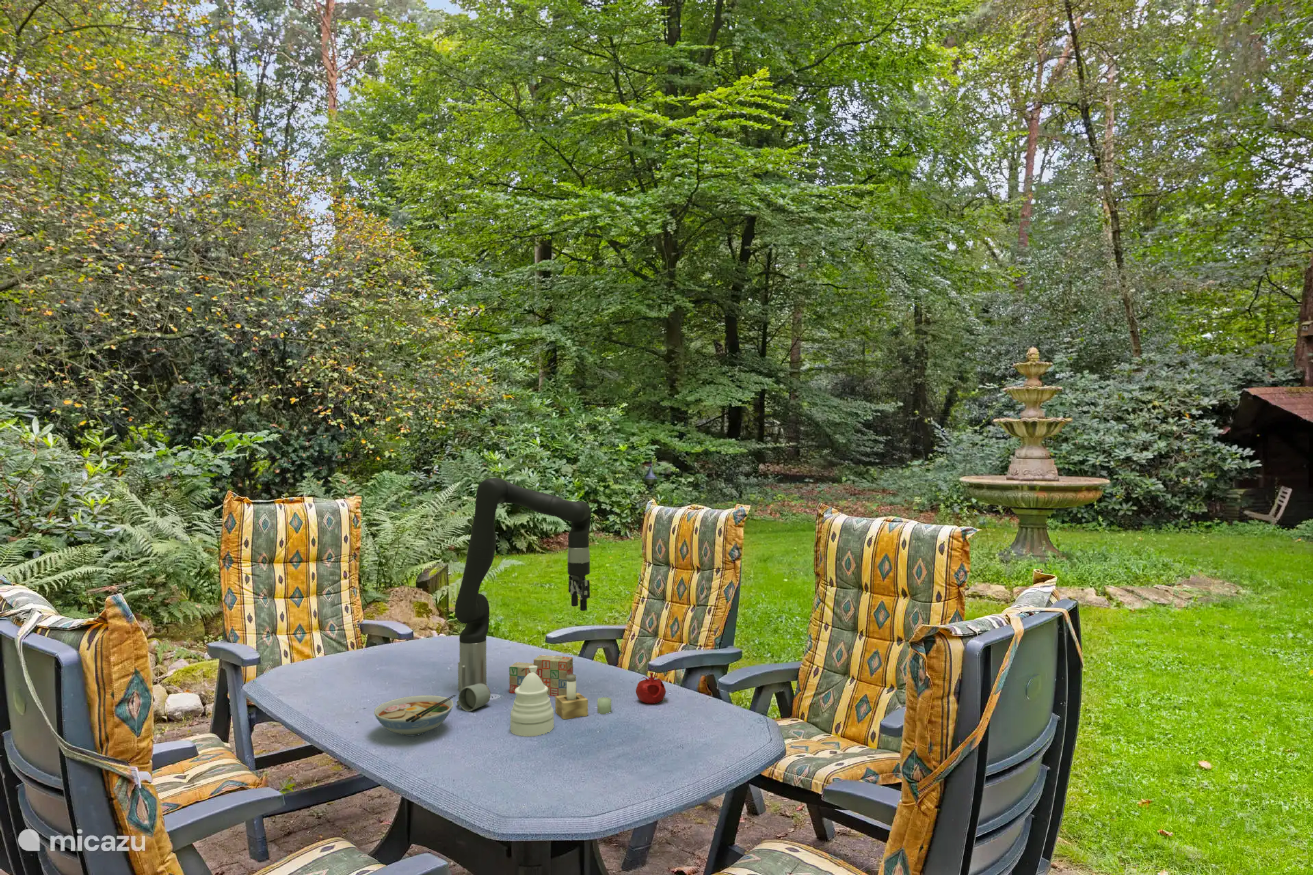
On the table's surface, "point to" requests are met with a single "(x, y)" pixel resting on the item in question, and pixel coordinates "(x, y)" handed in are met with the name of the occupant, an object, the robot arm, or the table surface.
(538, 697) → the honey pot
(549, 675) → the stack of blocks
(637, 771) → the table surface
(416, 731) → the ramen bowl
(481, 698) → the ceramic mug
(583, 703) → the bead block
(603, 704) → the bead
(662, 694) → the pomegranate
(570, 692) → the cream capped cylinder
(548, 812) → the table surface
